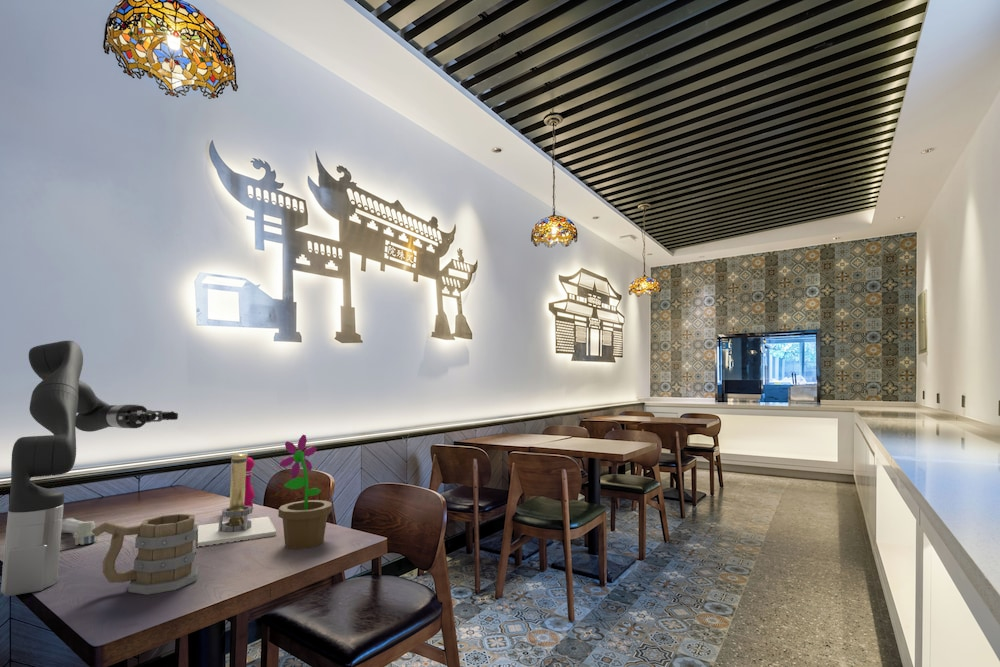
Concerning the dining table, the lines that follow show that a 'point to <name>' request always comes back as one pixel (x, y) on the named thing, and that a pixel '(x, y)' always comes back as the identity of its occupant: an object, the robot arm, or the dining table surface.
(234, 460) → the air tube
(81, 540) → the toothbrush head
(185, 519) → the tankard
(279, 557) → the dining table surface
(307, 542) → the flowerpot
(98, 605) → the dining table surface
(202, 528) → the base
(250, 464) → the pepper mill
